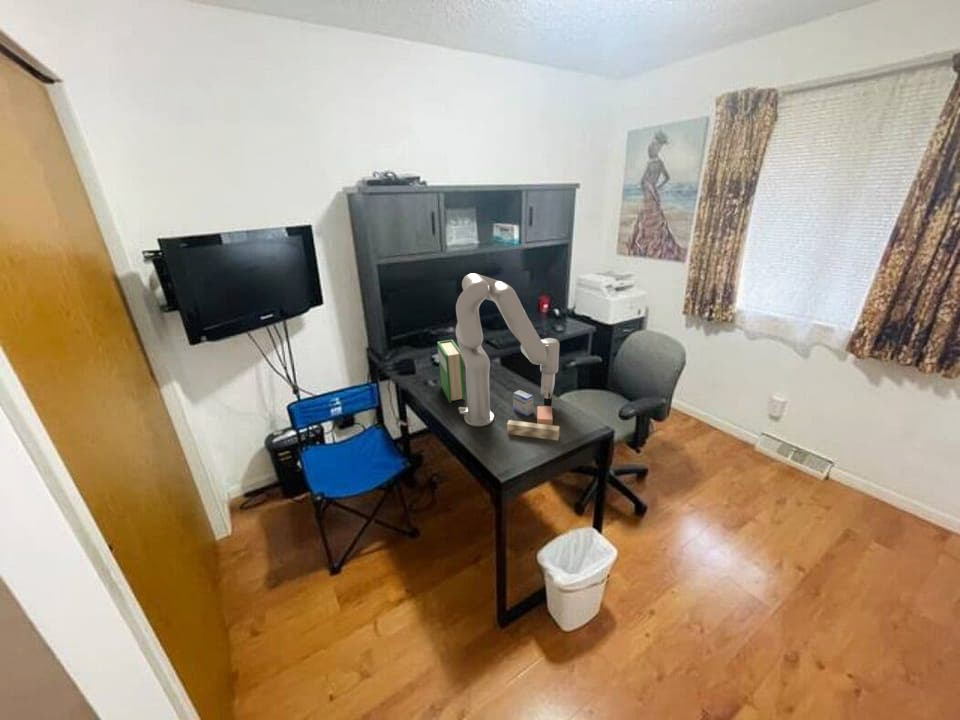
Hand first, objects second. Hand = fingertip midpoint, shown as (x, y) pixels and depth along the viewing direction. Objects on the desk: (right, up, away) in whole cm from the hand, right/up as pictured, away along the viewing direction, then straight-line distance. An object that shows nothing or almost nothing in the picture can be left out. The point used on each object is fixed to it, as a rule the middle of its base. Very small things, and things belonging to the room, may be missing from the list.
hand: (547, 404), depth 169 cm
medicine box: (-11, -3, -1) cm, 12 cm away
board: (-9, -10, -18) cm, 22 cm away
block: (-3, -6, -8) cm, 11 cm away
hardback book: (-43, +4, +16) cm, 46 cm away
